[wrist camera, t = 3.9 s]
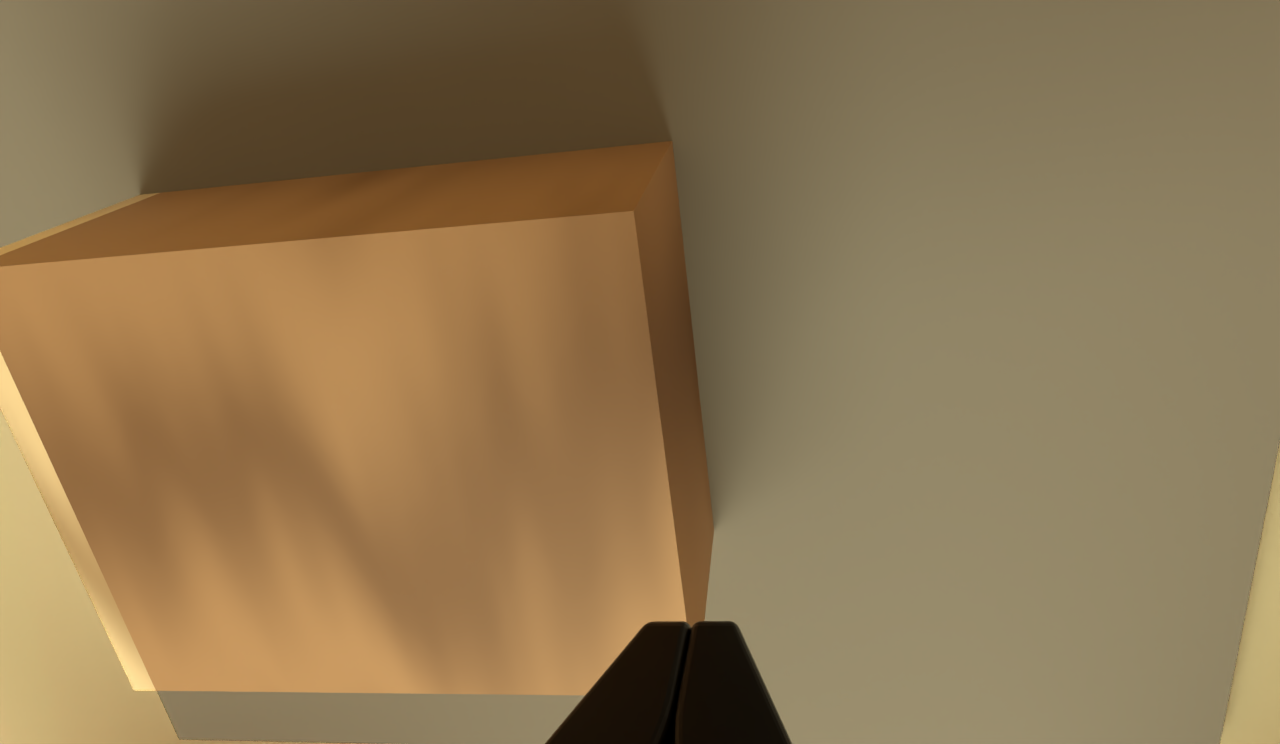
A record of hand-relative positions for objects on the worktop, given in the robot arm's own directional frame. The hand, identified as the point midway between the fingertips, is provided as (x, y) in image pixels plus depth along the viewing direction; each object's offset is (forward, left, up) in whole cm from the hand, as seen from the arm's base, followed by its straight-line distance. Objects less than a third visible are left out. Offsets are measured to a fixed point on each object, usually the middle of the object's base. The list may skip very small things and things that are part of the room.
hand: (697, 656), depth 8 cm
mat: (0, +3, -8) cm, 8 cm away
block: (0, +1, -5) cm, 5 cm away
